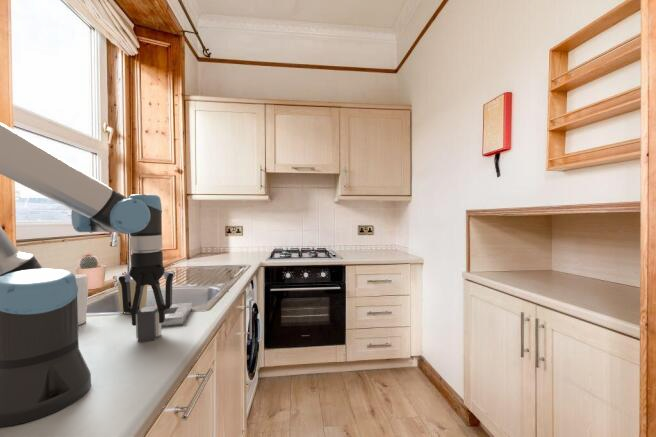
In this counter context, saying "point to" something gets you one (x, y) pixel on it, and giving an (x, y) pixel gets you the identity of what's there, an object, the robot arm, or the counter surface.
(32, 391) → the robot arm
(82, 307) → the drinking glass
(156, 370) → the counter surface
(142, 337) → the plug
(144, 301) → the coffee cup
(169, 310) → the socket plate
